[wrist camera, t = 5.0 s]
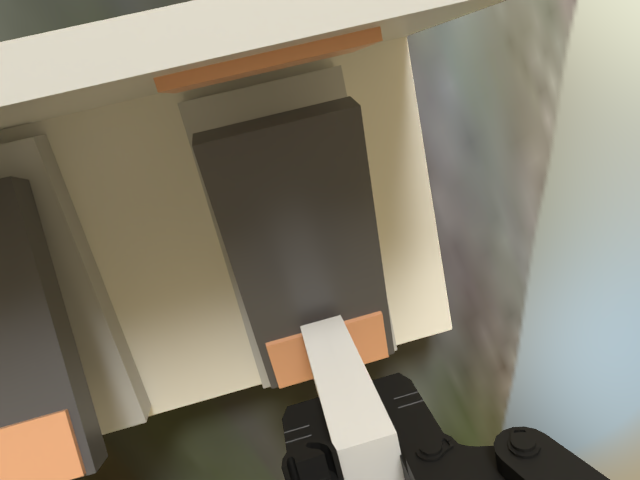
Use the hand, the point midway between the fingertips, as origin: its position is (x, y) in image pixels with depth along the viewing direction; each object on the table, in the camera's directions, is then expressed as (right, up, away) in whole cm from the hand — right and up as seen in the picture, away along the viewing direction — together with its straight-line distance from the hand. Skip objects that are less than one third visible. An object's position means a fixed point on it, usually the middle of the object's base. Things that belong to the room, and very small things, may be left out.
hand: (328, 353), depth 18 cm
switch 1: (-11, +1, -2) cm, 11 cm away
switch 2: (-1, +3, -1) cm, 4 cm away
